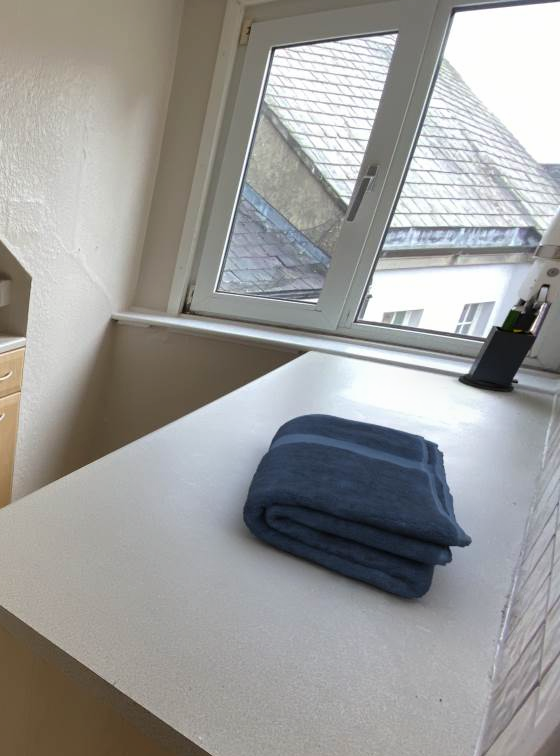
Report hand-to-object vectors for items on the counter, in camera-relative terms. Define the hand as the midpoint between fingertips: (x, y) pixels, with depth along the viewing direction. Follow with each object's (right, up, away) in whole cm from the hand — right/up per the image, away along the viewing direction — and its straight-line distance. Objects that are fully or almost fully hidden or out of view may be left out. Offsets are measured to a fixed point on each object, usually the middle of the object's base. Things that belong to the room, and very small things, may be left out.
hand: (516, 326), depth 141 cm
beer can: (0, -6, +3) cm, 7 cm away
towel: (-88, -41, -54) cm, 111 cm away
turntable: (-1, -14, +7) cm, 16 cm away
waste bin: (-1, -14, +7) cm, 16 cm away
